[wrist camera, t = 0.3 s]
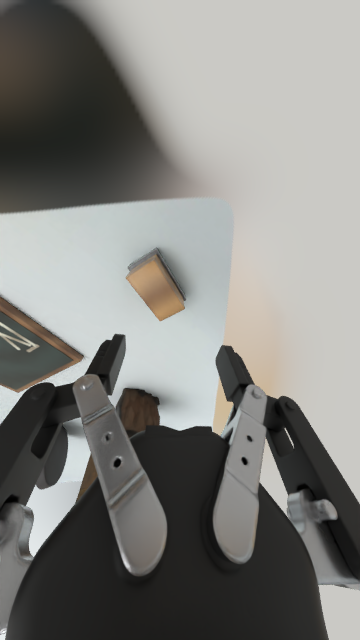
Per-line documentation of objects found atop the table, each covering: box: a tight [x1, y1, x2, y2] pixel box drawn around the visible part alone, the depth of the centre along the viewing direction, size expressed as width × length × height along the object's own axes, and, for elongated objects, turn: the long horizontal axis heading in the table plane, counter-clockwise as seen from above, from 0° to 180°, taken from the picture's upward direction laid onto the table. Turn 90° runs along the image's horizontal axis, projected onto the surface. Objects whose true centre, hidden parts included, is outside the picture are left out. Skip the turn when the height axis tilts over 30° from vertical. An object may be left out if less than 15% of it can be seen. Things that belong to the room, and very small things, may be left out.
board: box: [0, 297, 84, 393], centre depth 31 cm, size 18×22×2 cm
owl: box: [116, 388, 160, 438], centre depth 37 cm, size 13×13×20 cm
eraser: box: [126, 248, 186, 321], centre depth 23 cm, size 9×5×5 cm, turn 29°
